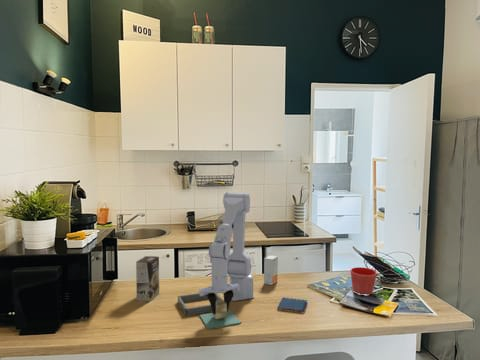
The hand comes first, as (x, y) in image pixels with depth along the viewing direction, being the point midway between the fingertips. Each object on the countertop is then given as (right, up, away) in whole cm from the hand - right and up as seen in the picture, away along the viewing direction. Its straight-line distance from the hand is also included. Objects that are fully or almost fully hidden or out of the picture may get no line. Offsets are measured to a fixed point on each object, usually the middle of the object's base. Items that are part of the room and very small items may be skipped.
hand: (219, 312), depth 133 cm
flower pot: (+60, -1, +25) cm, 65 cm away
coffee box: (-31, -2, +22) cm, 38 cm away
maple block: (0, -2, 0) cm, 2 cm away
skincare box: (+22, 0, +38) cm, 44 cm away
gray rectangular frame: (-8, -2, +13) cm, 15 cm away
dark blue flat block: (+28, -3, +12) cm, 30 cm away
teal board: (0, -3, 0) cm, 3 cm away
